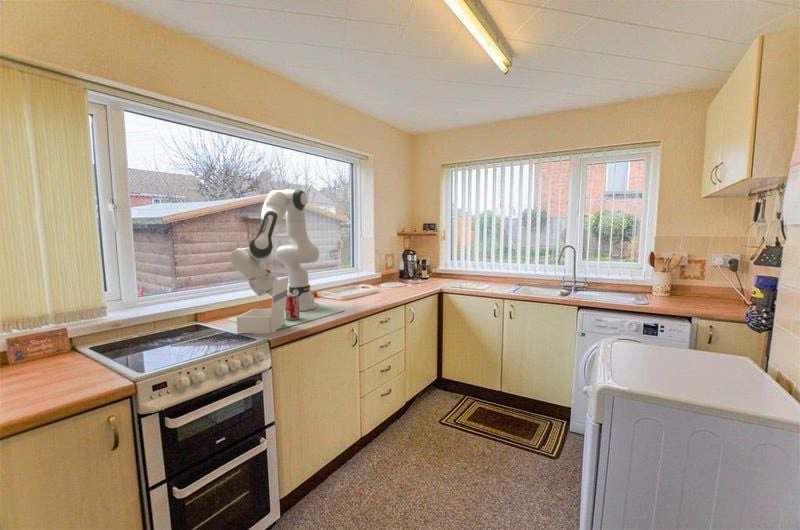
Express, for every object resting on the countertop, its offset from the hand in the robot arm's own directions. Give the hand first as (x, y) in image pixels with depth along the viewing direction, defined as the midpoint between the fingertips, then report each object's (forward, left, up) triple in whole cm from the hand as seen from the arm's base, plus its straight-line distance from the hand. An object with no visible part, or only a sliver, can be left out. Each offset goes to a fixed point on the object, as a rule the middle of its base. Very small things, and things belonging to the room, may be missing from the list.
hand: (277, 297), depth 166 cm
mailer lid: (0, +1, +1) cm, 1 cm away
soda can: (-19, -1, -16) cm, 25 cm away
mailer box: (0, -9, -16) cm, 18 cm away
